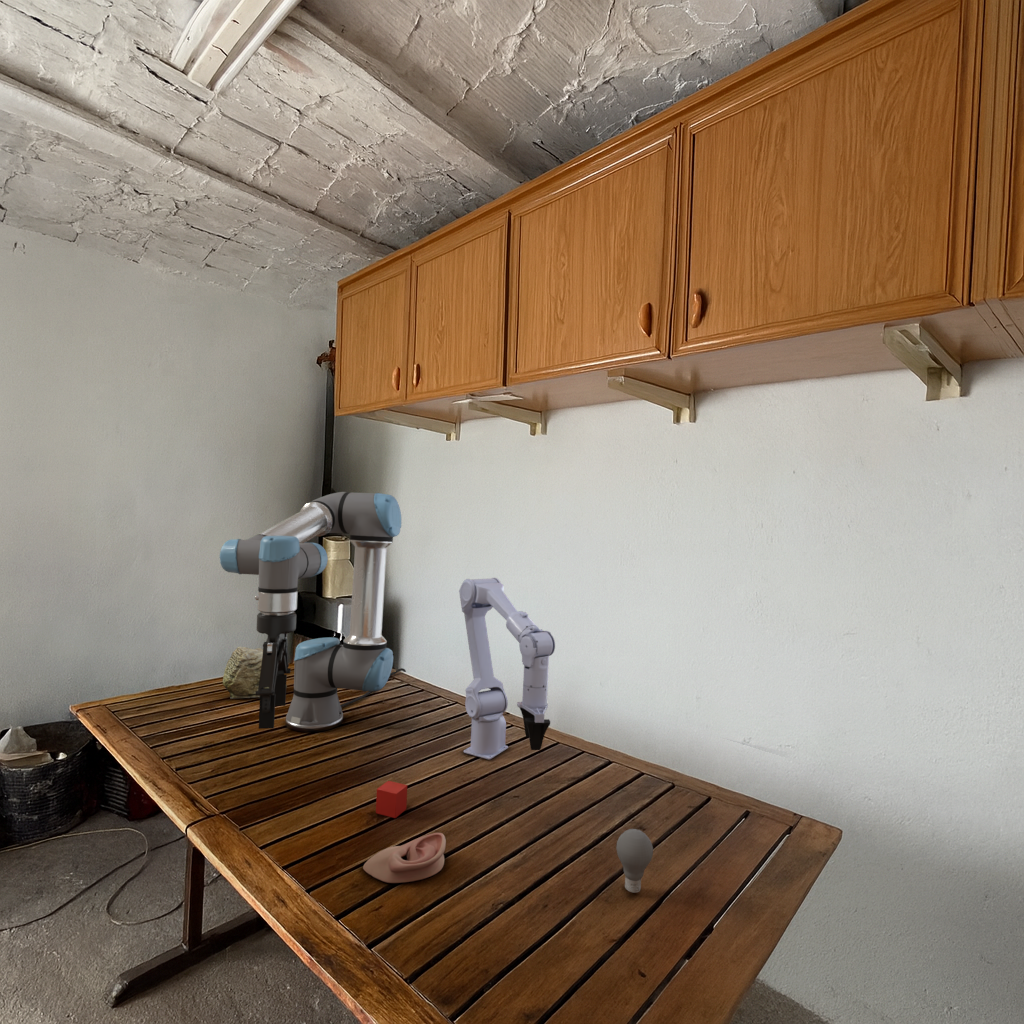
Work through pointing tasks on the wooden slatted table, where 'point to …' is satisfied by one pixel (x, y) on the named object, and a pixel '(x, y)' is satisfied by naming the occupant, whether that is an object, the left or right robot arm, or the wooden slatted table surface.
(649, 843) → the light bulb
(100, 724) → the wooden slatted table surface
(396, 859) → the anatomical model
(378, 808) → the block
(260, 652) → the fossil
